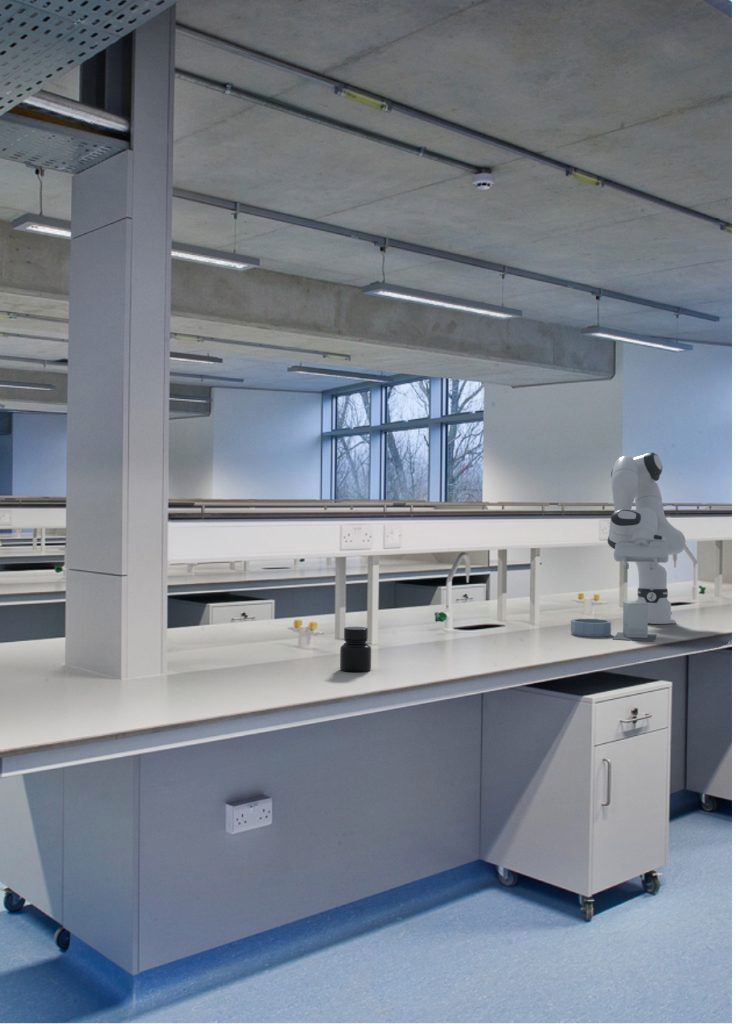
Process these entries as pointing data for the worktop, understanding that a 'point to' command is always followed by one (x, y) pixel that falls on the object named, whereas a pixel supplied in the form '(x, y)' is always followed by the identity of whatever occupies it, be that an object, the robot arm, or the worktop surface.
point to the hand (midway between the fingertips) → (638, 568)
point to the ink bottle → (355, 650)
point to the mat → (621, 637)
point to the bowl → (591, 627)
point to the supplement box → (635, 619)
